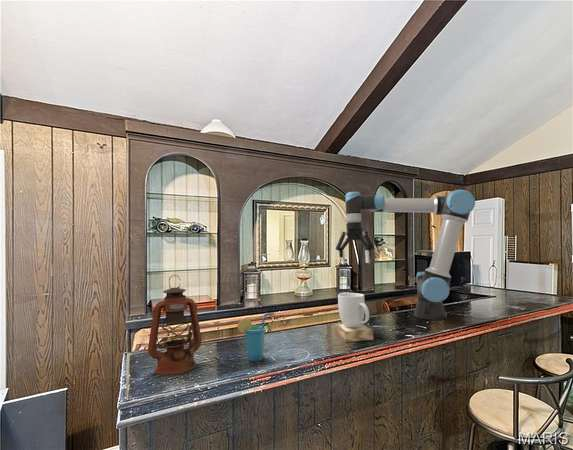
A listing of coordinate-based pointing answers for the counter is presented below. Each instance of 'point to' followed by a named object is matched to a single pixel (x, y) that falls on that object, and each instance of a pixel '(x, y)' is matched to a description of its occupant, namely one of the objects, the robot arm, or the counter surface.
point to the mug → (352, 309)
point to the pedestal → (354, 333)
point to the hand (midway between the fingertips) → (355, 263)
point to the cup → (254, 337)
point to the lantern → (176, 355)
